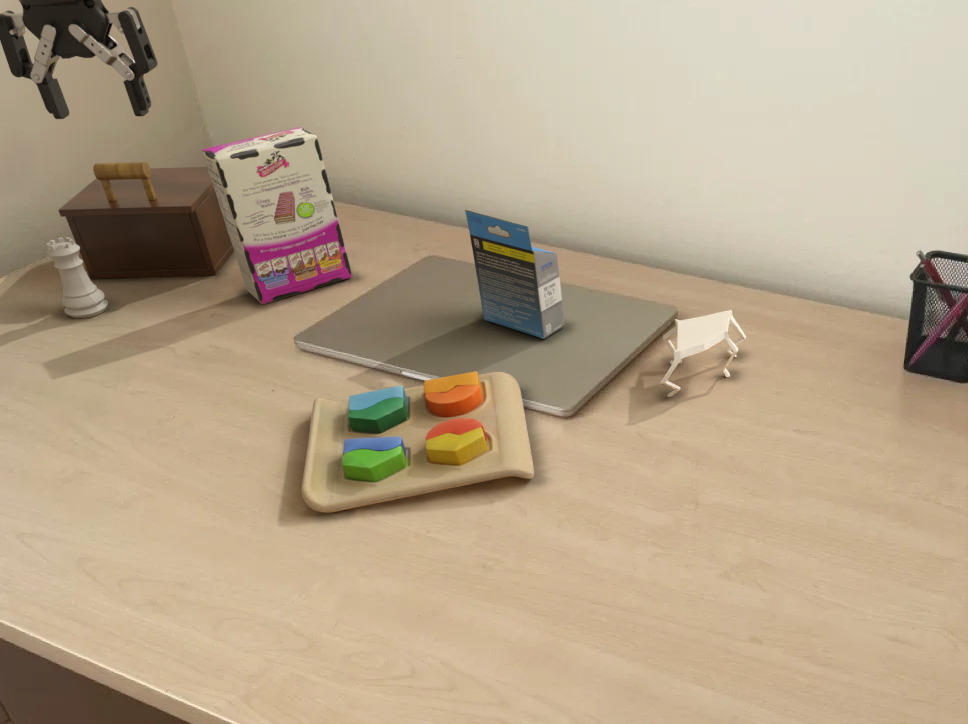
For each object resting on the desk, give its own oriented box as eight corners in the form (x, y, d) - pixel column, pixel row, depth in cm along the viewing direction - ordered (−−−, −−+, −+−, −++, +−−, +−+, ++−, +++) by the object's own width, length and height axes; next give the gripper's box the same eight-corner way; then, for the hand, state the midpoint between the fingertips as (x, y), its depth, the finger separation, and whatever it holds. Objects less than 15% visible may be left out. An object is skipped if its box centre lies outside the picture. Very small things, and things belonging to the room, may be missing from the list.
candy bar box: (336, 265, 127) (301, 124, 117) (354, 278, 124) (320, 135, 114) (243, 292, 121) (199, 146, 111) (260, 306, 118) (215, 158, 108)
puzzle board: (319, 411, 100) (310, 379, 98) (520, 386, 103) (515, 355, 101) (304, 518, 87) (294, 483, 85) (536, 486, 90) (531, 452, 88)
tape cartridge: (567, 326, 114) (555, 214, 106) (543, 341, 111) (529, 227, 103) (505, 307, 117) (489, 197, 110) (481, 320, 115) (463, 209, 107)
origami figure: (672, 344, 110) (670, 300, 107) (750, 353, 108) (750, 309, 105) (635, 401, 101) (632, 355, 98) (720, 412, 99) (719, 366, 96)
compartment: (215, 275, 125) (195, 210, 120) (90, 279, 125) (64, 214, 120) (247, 234, 135) (229, 173, 130) (131, 237, 135) (108, 176, 130)
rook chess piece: (118, 307, 118) (91, 238, 114) (81, 323, 115) (52, 253, 111) (93, 298, 120) (66, 230, 115) (57, 314, 117) (27, 244, 112)
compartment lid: (192, 213, 120) (178, 168, 117) (60, 216, 119) (42, 172, 116) (229, 172, 130) (217, 130, 127) (108, 176, 130) (93, 134, 127)
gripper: (129, -61, 108) (181, 104, 118) (-13, -58, 108) (51, 108, 118) (99, -48, 102) (156, 124, 112) (-52, -45, 102) (19, 128, 112)
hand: (102, 115), depth 115 cm, fingers open, 8 cm apart
